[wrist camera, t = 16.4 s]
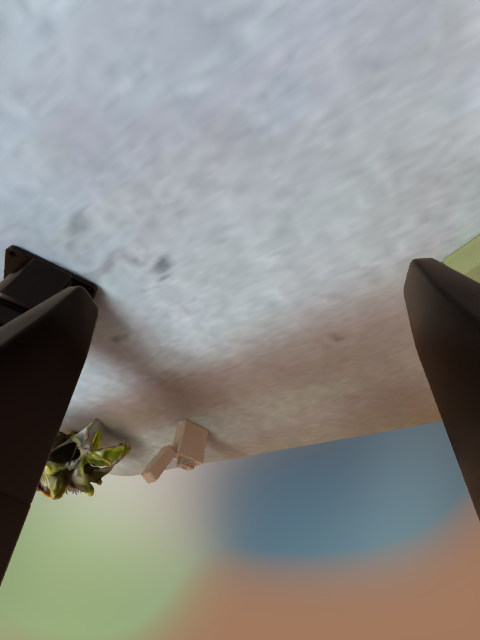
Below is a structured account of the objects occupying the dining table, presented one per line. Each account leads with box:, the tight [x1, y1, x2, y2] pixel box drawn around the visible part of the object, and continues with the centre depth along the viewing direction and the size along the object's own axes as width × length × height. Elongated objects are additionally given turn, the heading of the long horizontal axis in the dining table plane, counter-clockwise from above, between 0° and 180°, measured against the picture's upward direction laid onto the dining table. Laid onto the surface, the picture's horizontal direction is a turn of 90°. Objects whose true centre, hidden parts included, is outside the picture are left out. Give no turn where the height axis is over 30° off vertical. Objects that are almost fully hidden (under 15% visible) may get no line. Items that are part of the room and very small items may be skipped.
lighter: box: [141, 419, 208, 483], centre depth 37 cm, size 7×2×8 cm, turn 45°
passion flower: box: [36, 419, 131, 500], centre depth 42 cm, size 11×11×12 cm
